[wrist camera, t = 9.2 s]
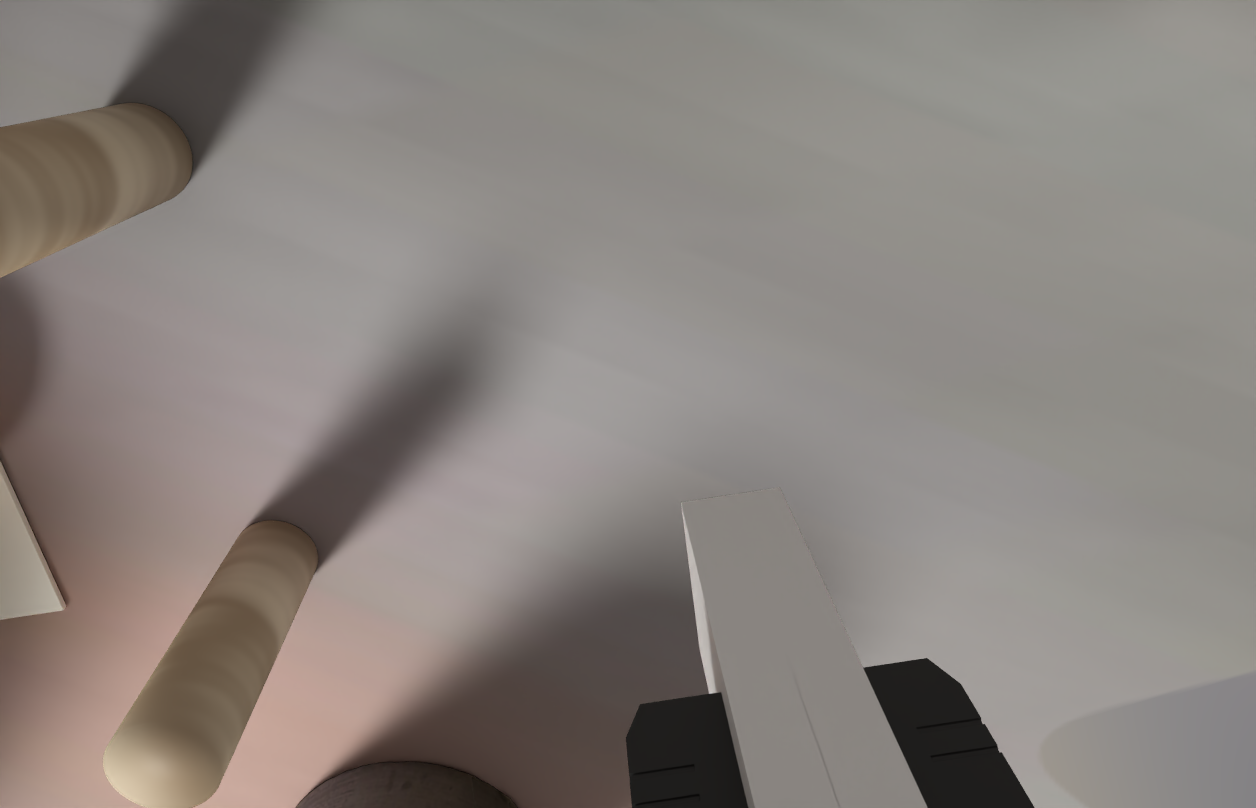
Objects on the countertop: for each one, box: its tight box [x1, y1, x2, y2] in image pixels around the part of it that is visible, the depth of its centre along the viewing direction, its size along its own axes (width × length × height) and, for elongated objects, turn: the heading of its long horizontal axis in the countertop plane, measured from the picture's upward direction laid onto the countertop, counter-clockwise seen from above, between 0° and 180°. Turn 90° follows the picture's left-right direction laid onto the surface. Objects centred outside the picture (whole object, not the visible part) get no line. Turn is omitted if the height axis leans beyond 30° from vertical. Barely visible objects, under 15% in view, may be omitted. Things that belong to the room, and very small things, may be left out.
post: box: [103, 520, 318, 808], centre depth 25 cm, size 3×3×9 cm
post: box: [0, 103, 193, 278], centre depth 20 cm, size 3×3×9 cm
